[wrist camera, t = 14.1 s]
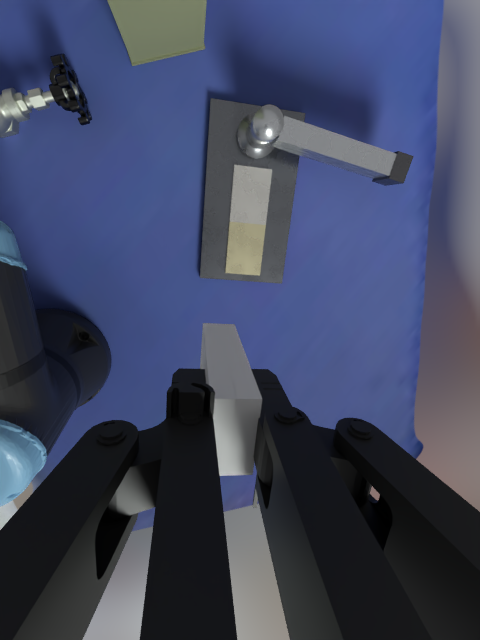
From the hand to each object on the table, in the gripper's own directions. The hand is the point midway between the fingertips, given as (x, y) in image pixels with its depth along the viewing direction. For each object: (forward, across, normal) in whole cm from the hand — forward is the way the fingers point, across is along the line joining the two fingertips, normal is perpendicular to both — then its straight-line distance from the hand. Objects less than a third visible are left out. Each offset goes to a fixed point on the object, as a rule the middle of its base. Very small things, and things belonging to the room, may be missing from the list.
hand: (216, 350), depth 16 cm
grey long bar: (+30, +14, +15) cm, 36 cm away
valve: (+33, -20, +16) cm, 41 cm away
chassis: (+32, +6, +8) cm, 34 cm away
